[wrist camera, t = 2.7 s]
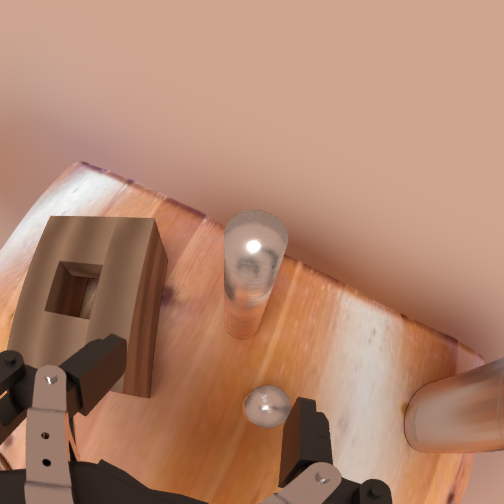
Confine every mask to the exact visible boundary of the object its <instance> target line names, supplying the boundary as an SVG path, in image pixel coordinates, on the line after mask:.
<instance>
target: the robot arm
mask: <svg viewBox="0 0 504 504" xmlns="http://www.w3.org/2000/svg"><path fill="white" fill-rule="evenodd" d="M126 363H127V340H126V339H124V338H121V337H119V336H117V335H115V334H113V333H111V334H110V335H108V336H107V337H106V338H105V339H103V340H102V339H100V338H99V339H96V340H93V341H90V342H89V343H87V344H86V345H85V346H84V347H83V348H81V349H80V350H78V352H76V353H75V354H73V355H72V356H71V357H69V358H68V359H67V360H66V361H64V362H63V363H62V364H61V365H59V366H58V367H57V366H53V365H46V366H43V367H41V368H39V369H37V368H34V367H32V366H29V365H26V364H24V359H23V356H22V355H21V354H20V353H19V352H17V351H14V350H6V351H3V352H1V353H0V395H2V394H3V393H4V392H5V391H6V390H7V393H6V394H5V395H4V396H3V397H2V398H1V399H0V445H1V444H2V443H3V442H4V441H5V440H6V438H7V437H8V436H9V435H10V434H11V433H12V432H13V431H14V430H15V429H16V428H17V427H18V426H19V424H20V423H21V422H22V421H23V420H24V419H25V418H26V417H27V422H26V469H17V470H4V471H0V504H208V503H207V502H203V501H200V500H196V499H193V498H190V497H187V496H184V495H181V494H175V493H168V492H163V491H157V490H152V489H149V488H147V487H146V486H144V485H143V484H142V483H140V482H139V481H137V480H136V479H135V478H133V477H132V476H131V475H129V474H128V473H127V472H125V471H123V470H121V469H119V468H117V467H115V466H113V465H111V464H109V463H108V462H106V461H104V460H102V459H101V460H100V462H99V463H98V464H95V463H90V462H83V461H80V457H79V453H78V447H77V439H76V429H75V418H74V415H75V414H76V413H77V412H79V413H81V414H82V415H84V416H87V415H88V413H89V412H90V411H91V410H92V409H93V408H94V407H95V406H96V405H97V403H98V402H99V401H100V400H101V399H102V398H103V397H104V396H105V395H106V393H107V392H108V391H109V390H110V389H111V388H112V387H113V386H114V385H115V383H116V382H117V381H118V380H119V379H120V378H121V377H122V376H123V374H124V372H125V369H126ZM404 427H405V434H406V437H407V440H408V442H409V444H410V445H411V446H412V447H413V448H414V449H415V450H417V451H419V452H424V453H480V452H493V451H503V450H504V357H502V358H500V359H497V360H495V361H492V362H490V363H487V364H485V365H482V366H480V367H477V368H475V369H472V370H469V371H466V372H464V373H461V374H458V375H455V376H451V377H448V378H445V379H442V380H439V381H435V382H432V383H429V384H427V385H425V386H423V387H422V388H421V389H419V390H418V391H417V392H416V394H415V395H414V396H413V398H412V399H411V401H410V403H409V405H408V408H407V411H406V415H405V424H404ZM278 487H280V488H283V489H282V490H280V491H279V492H278V493H274V494H272V495H271V496H269V497H268V498H266V499H265V500H264V501H262V502H261V503H259V504H392V497H391V491H390V488H389V487H388V485H387V484H386V483H384V482H383V481H381V480H377V479H369V480H366V481H365V482H363V483H362V484H359V483H356V482H353V481H350V480H347V479H345V478H343V477H341V474H340V472H339V470H338V469H337V468H336V467H334V466H333V460H332V449H331V439H330V432H329V421H328V420H327V418H326V416H325V415H324V413H322V412H316V402H315V400H312V399H307V398H302V397H298V398H297V400H296V402H295V404H294V406H293V408H292V410H291V412H290V414H289V415H288V417H287V419H286V422H285V425H284V429H283V440H282V453H281V464H280V475H279V485H278Z"/></svg>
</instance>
